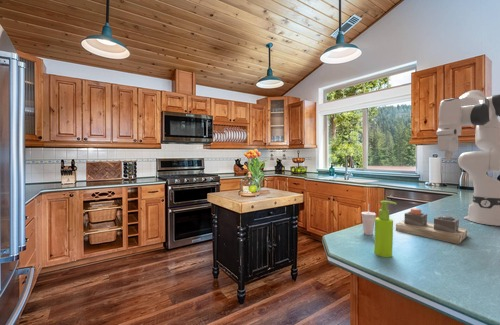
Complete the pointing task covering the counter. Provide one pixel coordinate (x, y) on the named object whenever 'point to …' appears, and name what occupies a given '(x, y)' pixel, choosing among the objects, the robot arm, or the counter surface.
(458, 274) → the counter surface
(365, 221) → the smoothie
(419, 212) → the terracotta button
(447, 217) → the grey cube
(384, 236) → the soap dispenser
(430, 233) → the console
